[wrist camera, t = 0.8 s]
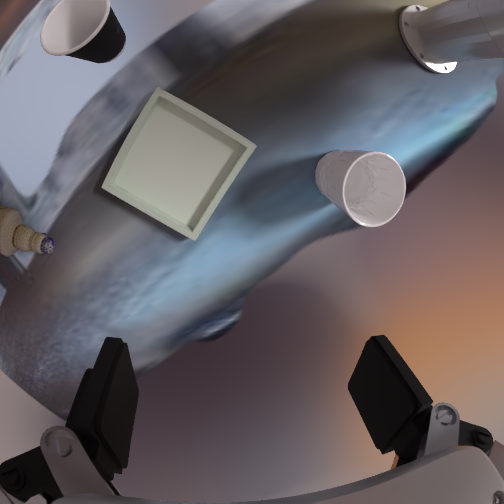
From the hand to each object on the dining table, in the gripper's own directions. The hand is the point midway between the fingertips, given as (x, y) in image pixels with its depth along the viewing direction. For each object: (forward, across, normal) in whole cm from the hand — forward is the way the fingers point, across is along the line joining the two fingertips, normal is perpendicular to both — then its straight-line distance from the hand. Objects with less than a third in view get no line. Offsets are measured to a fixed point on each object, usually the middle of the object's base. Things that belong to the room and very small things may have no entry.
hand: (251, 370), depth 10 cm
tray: (+27, +6, -5) cm, 28 cm away
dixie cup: (+28, +17, -21) cm, 38 cm away
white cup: (+27, -14, -5) cm, 31 cm away
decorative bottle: (+28, +37, +4) cm, 46 cm away
